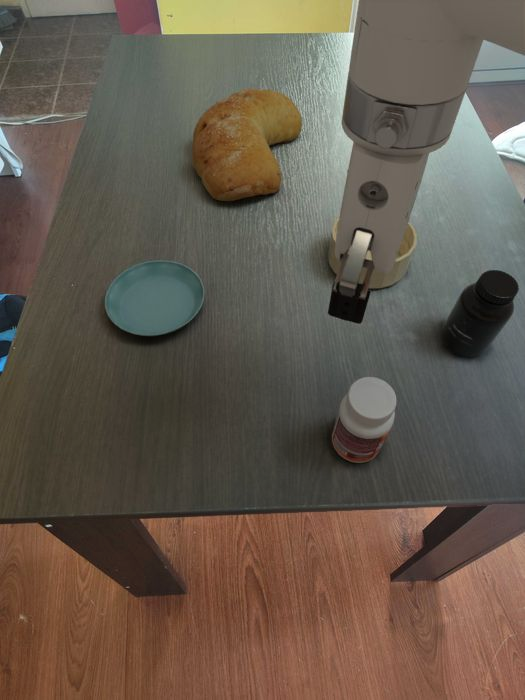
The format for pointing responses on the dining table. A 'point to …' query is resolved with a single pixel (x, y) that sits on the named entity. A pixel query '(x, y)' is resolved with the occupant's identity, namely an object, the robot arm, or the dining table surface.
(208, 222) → the dining table surface
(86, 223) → the dining table surface
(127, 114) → the dining table surface
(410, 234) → the beige round bowl
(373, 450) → the pill bottle
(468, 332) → the supplement bottle
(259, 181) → the bread
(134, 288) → the saucer
